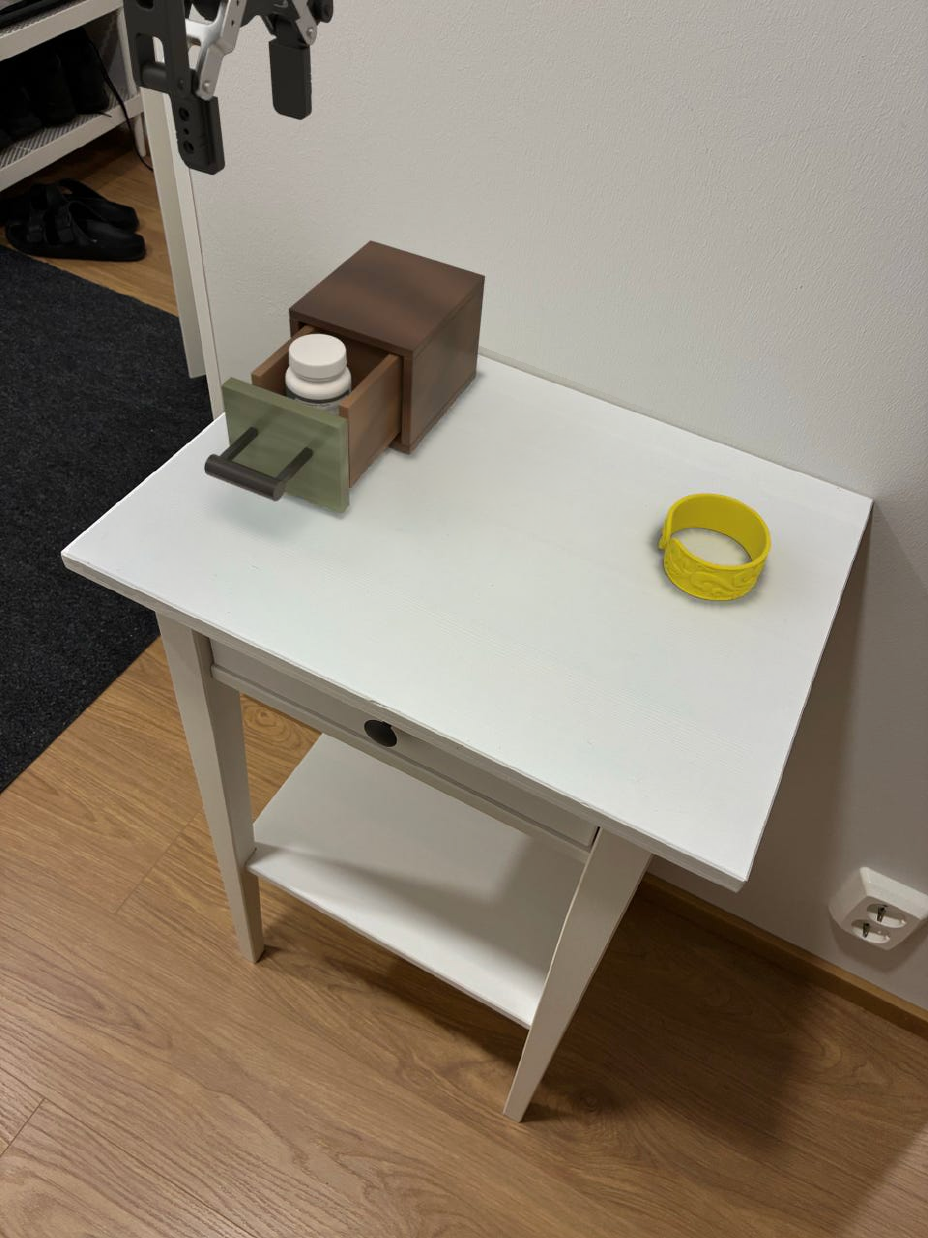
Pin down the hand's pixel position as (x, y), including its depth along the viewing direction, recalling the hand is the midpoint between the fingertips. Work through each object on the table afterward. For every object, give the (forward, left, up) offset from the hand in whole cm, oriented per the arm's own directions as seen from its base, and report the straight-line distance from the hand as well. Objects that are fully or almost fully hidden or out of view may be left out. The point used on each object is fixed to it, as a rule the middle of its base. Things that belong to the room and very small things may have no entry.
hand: (250, 141), depth 53 cm
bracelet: (+30, -11, -26) cm, 41 cm away
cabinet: (+10, +12, -26) cm, 31 cm away
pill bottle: (+3, +4, -24) cm, 25 cm away
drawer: (+2, +2, -25) cm, 25 cm away
